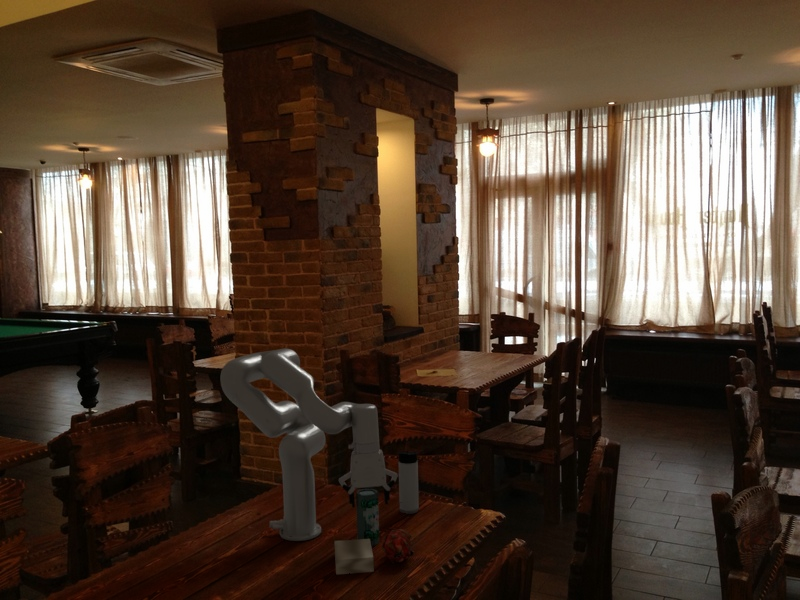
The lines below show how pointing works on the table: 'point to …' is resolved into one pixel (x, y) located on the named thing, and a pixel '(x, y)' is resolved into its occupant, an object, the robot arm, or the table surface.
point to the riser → (353, 556)
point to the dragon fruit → (397, 545)
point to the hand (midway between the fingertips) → (369, 504)
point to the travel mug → (408, 482)
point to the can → (367, 515)
